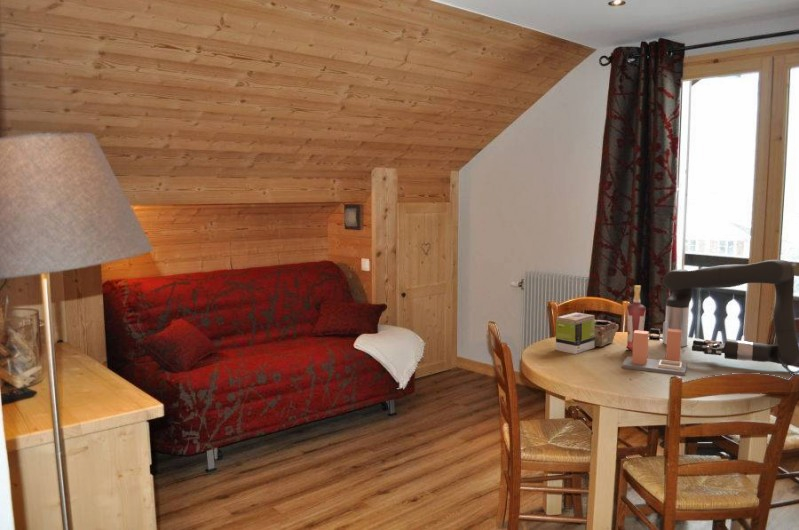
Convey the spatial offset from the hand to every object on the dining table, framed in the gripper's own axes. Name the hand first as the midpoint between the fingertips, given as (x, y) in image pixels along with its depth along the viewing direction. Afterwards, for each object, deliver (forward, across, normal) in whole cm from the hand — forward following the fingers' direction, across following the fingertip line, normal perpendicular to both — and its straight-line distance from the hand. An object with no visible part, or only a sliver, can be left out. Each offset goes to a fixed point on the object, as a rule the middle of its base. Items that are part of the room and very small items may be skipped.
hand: (692, 345), depth 252 cm
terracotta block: (+7, 0, +7) cm, 9 cm away
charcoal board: (+12, +15, +7) cm, 20 cm away
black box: (+17, -36, +8) cm, 41 cm away
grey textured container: (+38, -16, +7) cm, 42 cm away
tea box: (+46, +1, +7) cm, 46 cm away
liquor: (+22, -7, +7) cm, 24 cm away
